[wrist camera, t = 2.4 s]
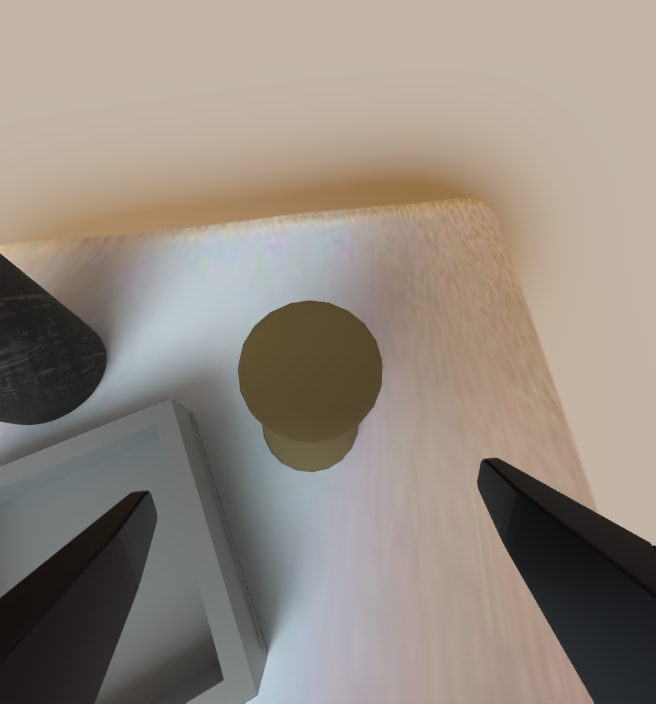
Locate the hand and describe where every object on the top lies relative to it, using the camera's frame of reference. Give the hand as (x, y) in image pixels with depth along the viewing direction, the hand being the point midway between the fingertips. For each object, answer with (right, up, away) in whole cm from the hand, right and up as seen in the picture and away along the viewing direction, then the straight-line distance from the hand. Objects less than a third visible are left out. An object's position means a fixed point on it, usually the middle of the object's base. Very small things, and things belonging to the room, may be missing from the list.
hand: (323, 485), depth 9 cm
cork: (-1, -1, +12) cm, 12 cm away
